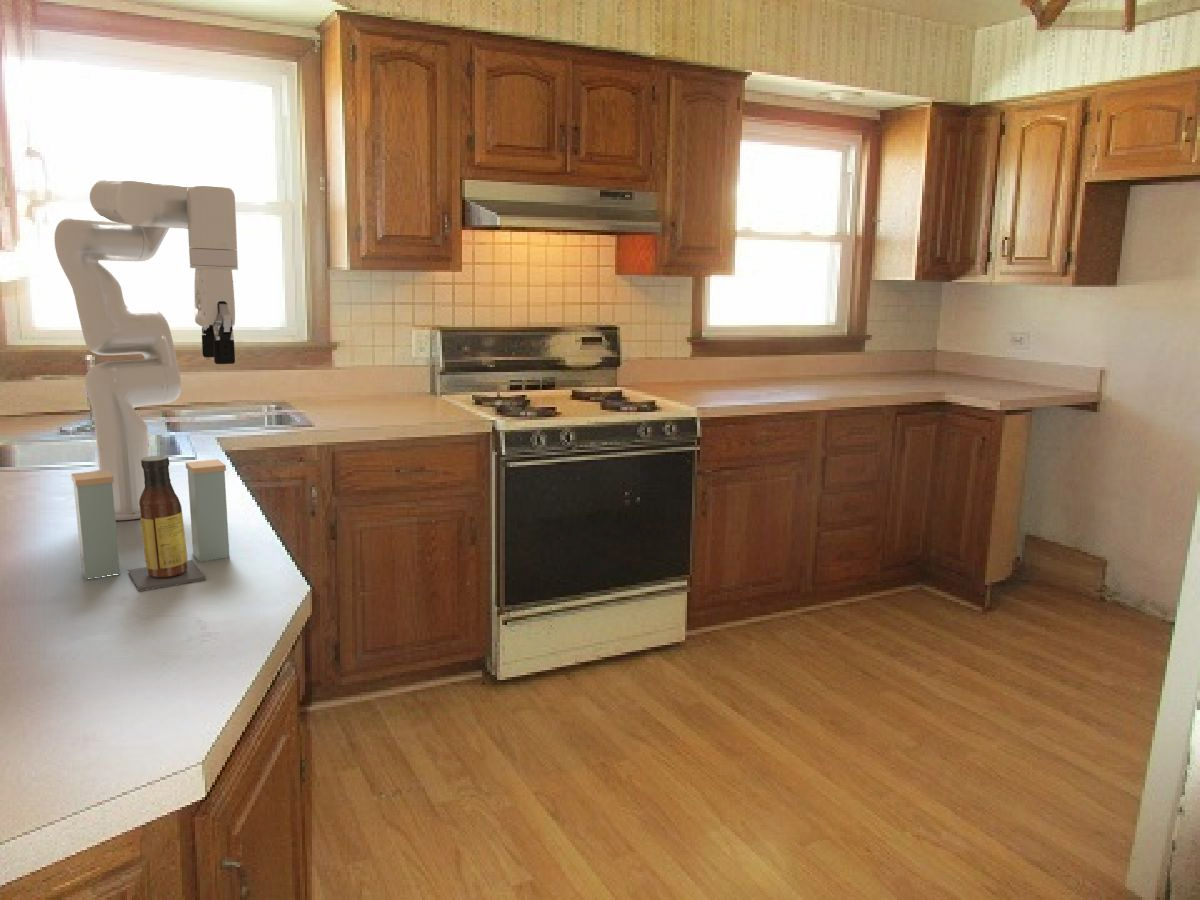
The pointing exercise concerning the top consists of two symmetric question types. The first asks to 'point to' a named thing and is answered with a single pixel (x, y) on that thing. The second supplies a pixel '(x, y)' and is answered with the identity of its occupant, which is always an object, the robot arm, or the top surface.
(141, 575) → the plate
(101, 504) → the canister
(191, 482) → the canister
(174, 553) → the sauce bottle
